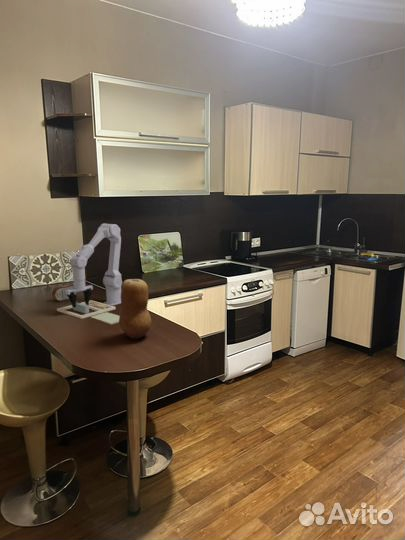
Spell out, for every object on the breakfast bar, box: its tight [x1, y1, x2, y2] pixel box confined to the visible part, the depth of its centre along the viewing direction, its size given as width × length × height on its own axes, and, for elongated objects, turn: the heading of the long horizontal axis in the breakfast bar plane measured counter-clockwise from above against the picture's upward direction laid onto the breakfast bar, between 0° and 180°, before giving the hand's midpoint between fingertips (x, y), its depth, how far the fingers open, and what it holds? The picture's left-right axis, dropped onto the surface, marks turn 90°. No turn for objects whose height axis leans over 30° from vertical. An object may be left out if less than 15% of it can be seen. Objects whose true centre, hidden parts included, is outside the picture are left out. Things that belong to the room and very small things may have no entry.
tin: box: [51, 283, 78, 302], centre depth 228 cm, size 15×3×8 cm, turn 141°
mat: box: [90, 311, 120, 325], centre depth 194 cm, size 10×16×1 cm, turn 51°
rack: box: [56, 299, 116, 319], centre depth 208 cm, size 21×21×2 cm
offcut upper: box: [87, 303, 107, 309], centre depth 212 cm, size 4×10×1 cm, turn 52°
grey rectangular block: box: [72, 301, 90, 315], centre depth 205 cm, size 2×11×4 cm, turn 51°
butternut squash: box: [118, 278, 152, 340], centre depth 167 cm, size 14×13×25 cm
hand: (80, 305), depth 204 cm, fingers open, 7 cm apart
